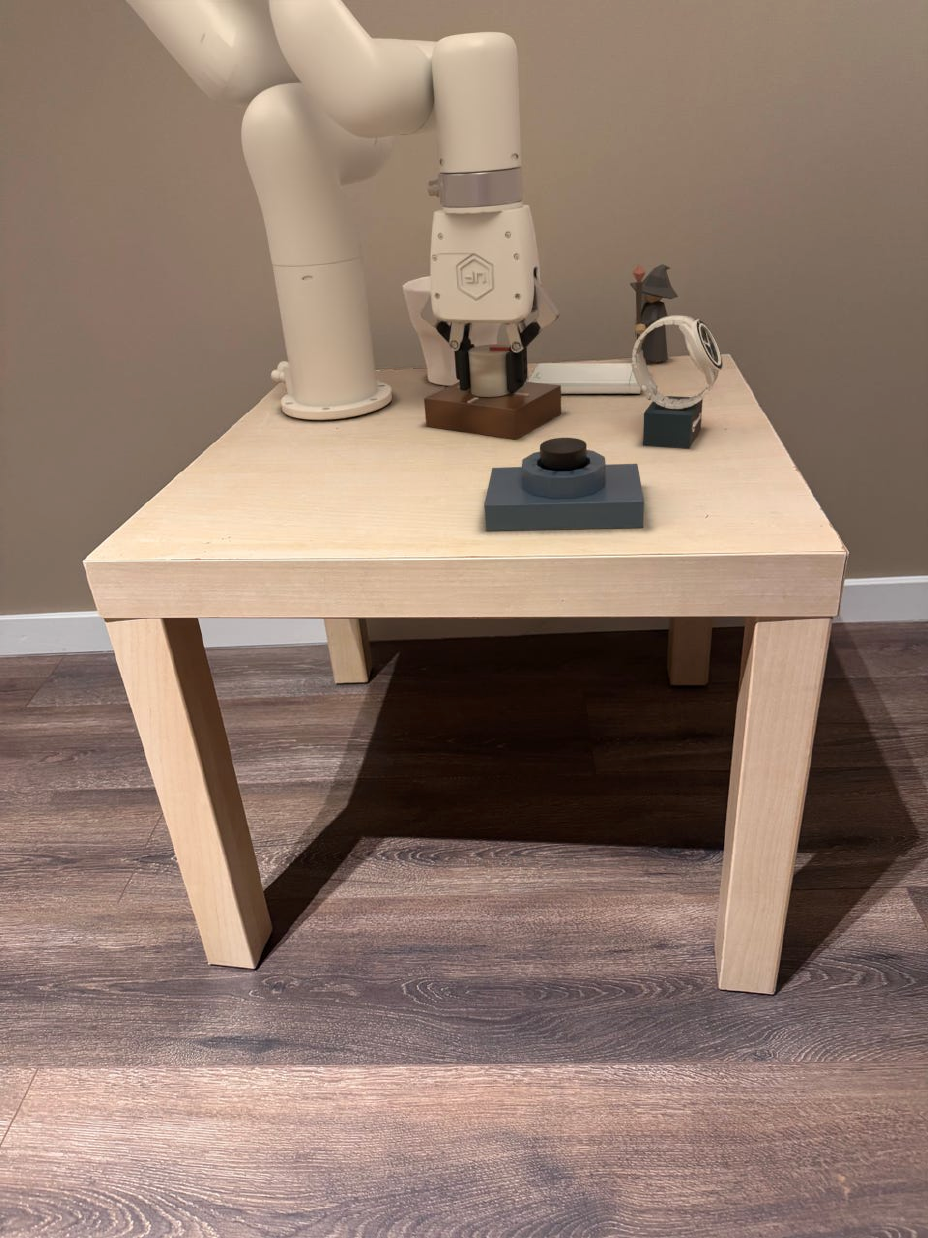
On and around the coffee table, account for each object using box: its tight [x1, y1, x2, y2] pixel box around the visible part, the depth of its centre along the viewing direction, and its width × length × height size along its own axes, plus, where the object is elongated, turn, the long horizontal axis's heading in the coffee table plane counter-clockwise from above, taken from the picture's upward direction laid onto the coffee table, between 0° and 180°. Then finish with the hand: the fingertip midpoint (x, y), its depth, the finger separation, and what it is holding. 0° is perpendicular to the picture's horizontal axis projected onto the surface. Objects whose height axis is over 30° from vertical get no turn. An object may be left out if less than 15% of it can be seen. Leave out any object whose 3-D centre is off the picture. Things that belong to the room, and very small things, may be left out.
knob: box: [468, 343, 510, 397], centre depth 91 cm, size 4×4×4 cm
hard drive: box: [527, 362, 642, 395], centre depth 103 cm, size 2×8×12 cm
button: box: [539, 437, 588, 472], centre depth 70 cm, size 4×4×2 cm
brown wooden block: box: [423, 381, 562, 440], centre depth 93 cm, size 11×9×3 cm
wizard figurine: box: [630, 263, 679, 365], centre depth 106 cm, size 8×6×12 cm
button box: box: [483, 449, 645, 532], centre depth 72 cm, size 12×8×4 cm, turn 84°
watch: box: [630, 314, 723, 450], centre depth 83 cm, size 6×8×11 cm
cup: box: [401, 275, 502, 387], centre depth 107 cm, size 12×12×11 cm
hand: (492, 386), depth 92 cm, fingers closed on knob, 4 cm apart
